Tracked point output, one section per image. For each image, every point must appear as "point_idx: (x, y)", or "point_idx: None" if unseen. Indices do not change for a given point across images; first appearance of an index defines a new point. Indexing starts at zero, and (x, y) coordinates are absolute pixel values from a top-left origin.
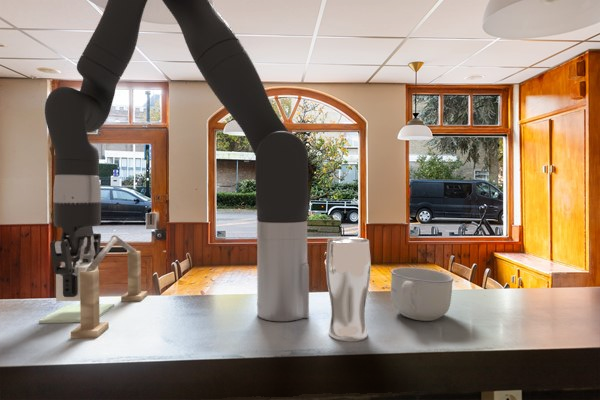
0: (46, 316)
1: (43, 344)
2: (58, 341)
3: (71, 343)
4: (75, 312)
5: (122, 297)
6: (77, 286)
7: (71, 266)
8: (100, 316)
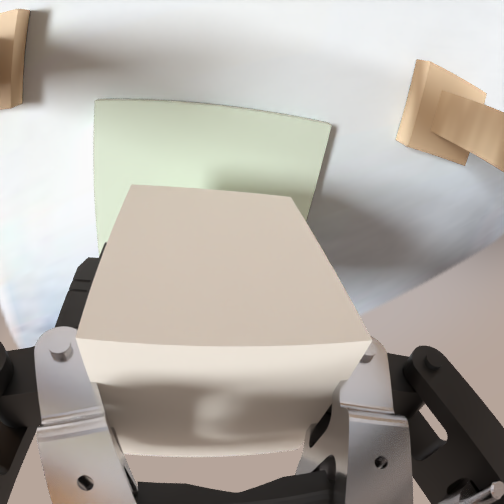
0: None
1: (458, 210)
2: (457, 183)
3: None
4: None
5: (13, 100)
6: None
7: (437, 385)
8: (258, 110)
